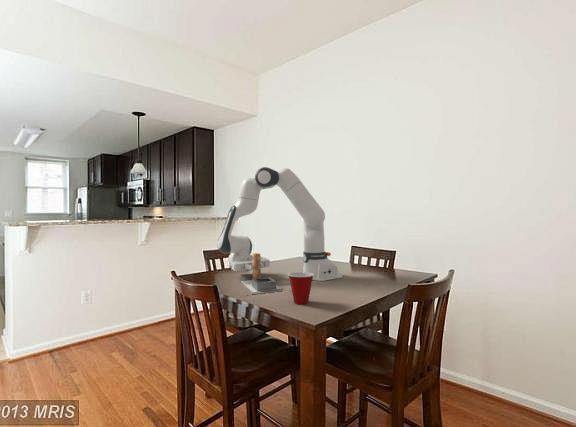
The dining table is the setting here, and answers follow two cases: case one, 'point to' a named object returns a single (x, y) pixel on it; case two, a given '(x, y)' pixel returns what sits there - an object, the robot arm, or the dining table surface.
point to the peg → (256, 266)
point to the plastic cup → (301, 286)
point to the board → (261, 285)
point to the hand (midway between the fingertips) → (257, 266)
